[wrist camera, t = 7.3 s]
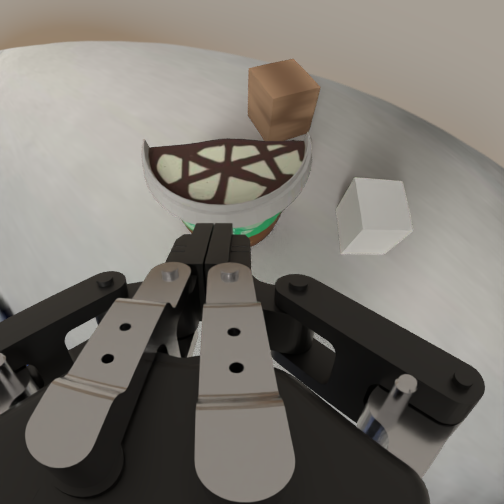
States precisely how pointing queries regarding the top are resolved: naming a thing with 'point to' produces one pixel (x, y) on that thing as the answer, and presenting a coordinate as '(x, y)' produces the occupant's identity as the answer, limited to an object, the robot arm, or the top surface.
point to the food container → (228, 181)
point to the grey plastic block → (373, 216)
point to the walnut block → (281, 100)
